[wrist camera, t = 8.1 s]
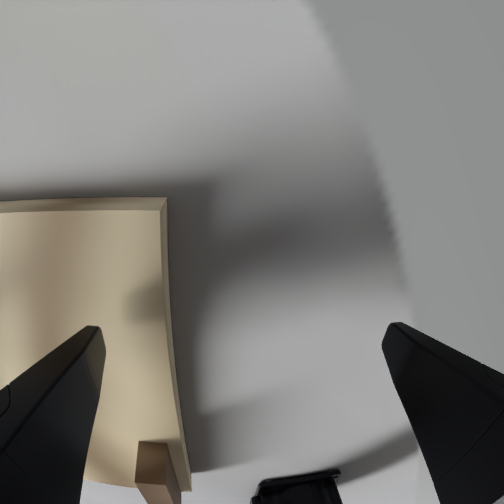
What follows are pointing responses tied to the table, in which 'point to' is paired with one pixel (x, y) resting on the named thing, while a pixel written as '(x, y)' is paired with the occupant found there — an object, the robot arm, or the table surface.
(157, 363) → the board
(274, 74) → the table surface
